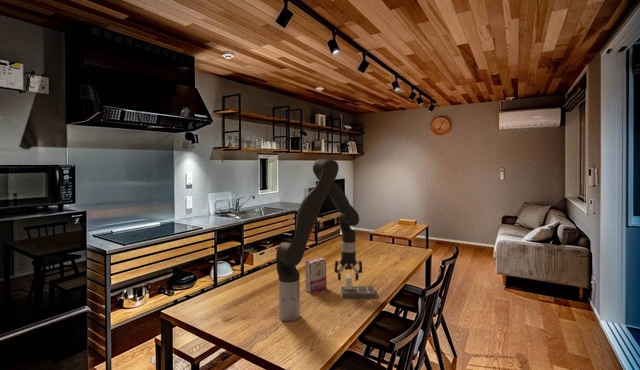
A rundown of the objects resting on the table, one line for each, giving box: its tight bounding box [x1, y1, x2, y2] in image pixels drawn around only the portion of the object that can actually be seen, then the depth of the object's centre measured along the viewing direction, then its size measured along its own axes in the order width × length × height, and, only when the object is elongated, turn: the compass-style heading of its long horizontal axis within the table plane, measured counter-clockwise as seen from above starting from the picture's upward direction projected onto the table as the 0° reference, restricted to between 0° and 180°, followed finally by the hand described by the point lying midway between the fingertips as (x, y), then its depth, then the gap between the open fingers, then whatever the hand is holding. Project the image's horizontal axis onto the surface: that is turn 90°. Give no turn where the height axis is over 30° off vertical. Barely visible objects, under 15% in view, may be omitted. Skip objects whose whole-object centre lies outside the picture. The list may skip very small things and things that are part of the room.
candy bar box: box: [304, 256, 327, 294], centre depth 179 cm, size 11×5×16 cm, turn 129°
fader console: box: [340, 285, 377, 299], centre depth 174 cm, size 10×17×2 cm, turn 91°
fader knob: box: [344, 274, 353, 290], centre depth 173 cm, size 4×3×7 cm
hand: (348, 280), depth 173 cm, fingers open, 8 cm apart
